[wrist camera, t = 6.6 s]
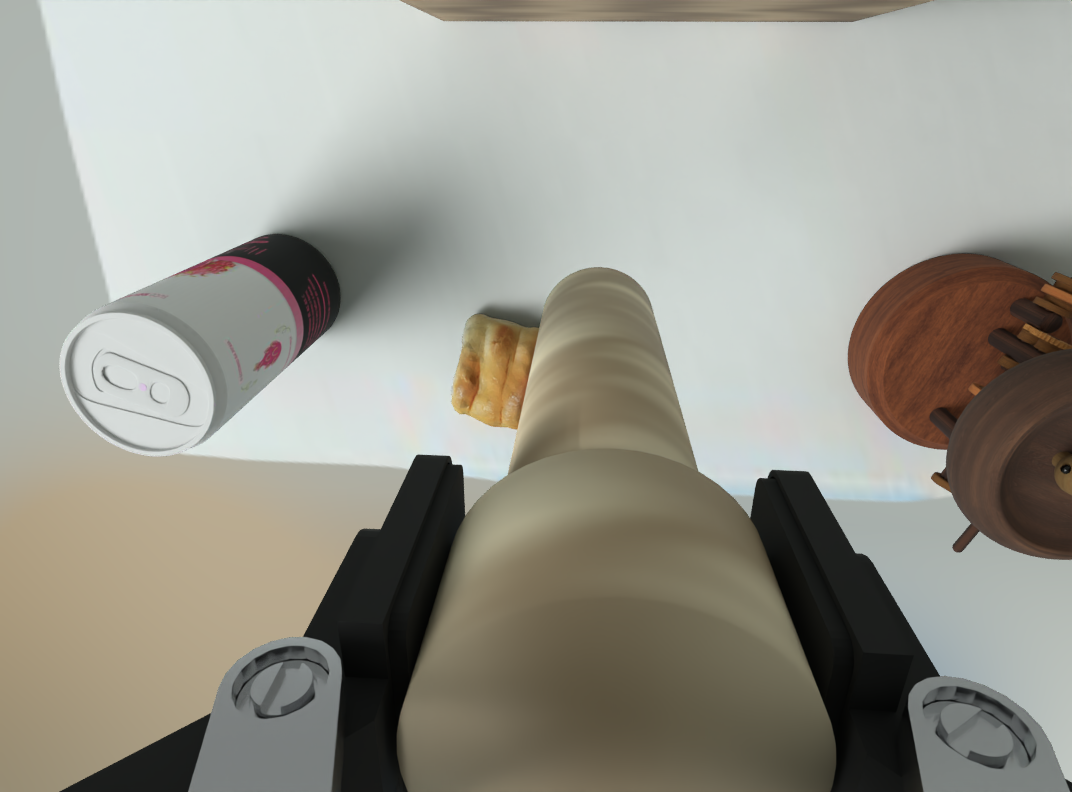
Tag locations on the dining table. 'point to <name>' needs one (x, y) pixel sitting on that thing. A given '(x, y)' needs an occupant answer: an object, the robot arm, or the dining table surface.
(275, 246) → the beverage can
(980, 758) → the robot arm
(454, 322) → the dining table surface
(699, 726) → the pin
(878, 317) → the music box
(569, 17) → the wooden box
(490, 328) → the pastry
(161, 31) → the dining table surface
